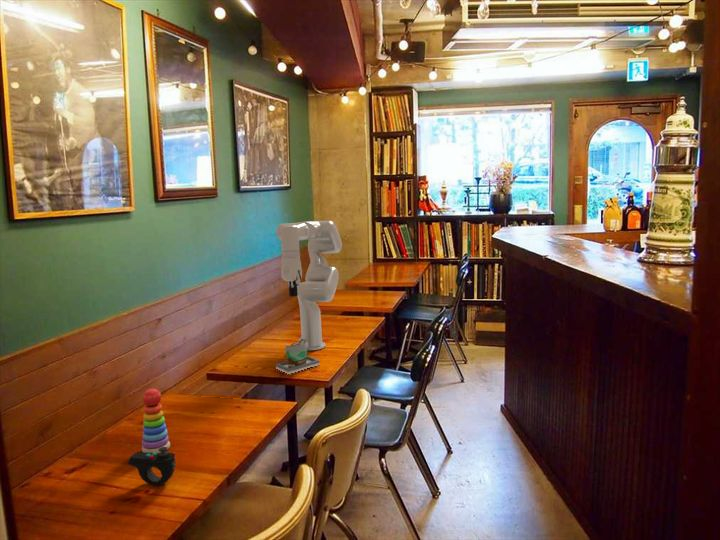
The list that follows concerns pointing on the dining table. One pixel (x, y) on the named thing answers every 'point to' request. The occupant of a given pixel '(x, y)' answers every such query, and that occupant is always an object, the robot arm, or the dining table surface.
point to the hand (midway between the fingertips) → (293, 295)
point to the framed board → (309, 363)
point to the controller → (154, 465)
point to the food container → (297, 353)
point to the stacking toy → (153, 423)
